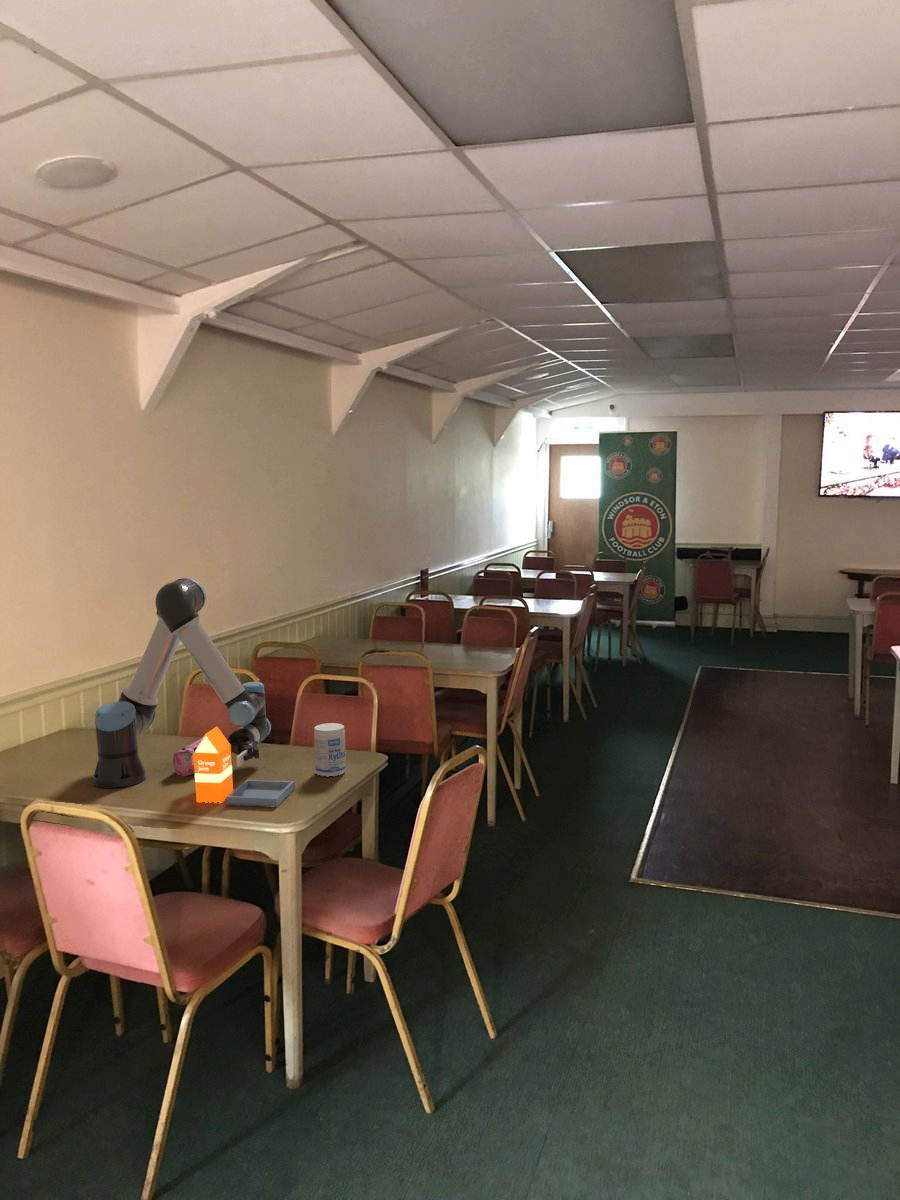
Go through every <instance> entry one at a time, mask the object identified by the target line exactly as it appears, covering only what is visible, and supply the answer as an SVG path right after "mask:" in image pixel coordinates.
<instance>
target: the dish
mask: <svg viewBox="0 0 900 1200" xmlns="http://www.w3.org/2000/svg"><path fill="white" fill-rule="evenodd" d="M294 789H295V790H296V781H295V780H294V781H293V780H272V779H271V780H268V779H267V780H266V779H246V780H244V781H242V783H241V784H239V786H237V787H236V788H235V789H233V791H232V792H231V793H230V794H229V795H228V796H226V800H225V804H226V805H225V806H227V805H236V806H235V807H251V806H270V807H269V808H272V807H271V806H274V807H273V808H275V807H277V806H278V805H279V804H280V803H281V802H282V801H283V800H284V799H285V798H286V797H287V796H288V795H289V794H290V793H291V792H292V791H293V790H294ZM295 790H294V791H295ZM294 791H293V792H294ZM293 792H292V793H293ZM292 793H291V794H292ZM291 794H290V795H291ZM290 795H289V796H290ZM289 796H288V797H289ZM288 797H287V798H288ZM287 798H286V799H287ZM286 799H285V800H286ZM285 800H284V801H285ZM284 801H283V802H284ZM283 802H282V803H283ZM282 803H281V804H282ZM281 804H280V805H281ZM280 805H279V806H280ZM279 806H278V807H279ZM278 807H277V808H278Z"/></svg>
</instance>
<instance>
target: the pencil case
mask: <svg viewBox="0 0 900 1200" xmlns="http://www.w3.org/2000/svg"><path fill="white" fill-rule="evenodd" d="M204 736H205V734H204V735H203V736H201V737H200V738H199V739H198V740H195V741H193V742H192V743H190V744H189V745H185V746H184V747H181V748H180V749H179V750H176V752H175V753H174V754H173V756H172V765H173V768H174V771H175V772H174V773H176V774H177V775H178V776H180V775H181V776H180V777H189V776H191V775H193V774H195V769H194V765H192V755H193V754H194V748H195V747H198V746H199V744H200V742H201V741H202V739H203V738H204ZM183 775H184V776H183ZM188 775H189V776H188Z"/></svg>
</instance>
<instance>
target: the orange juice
mask: <svg viewBox="0 0 900 1200" xmlns="http://www.w3.org/2000/svg"><path fill="white" fill-rule="evenodd" d="M204 735H205V736H204ZM204 735H203V736H204V738H203V739H202V741H201V742H200V744H199V746H198V747H197V749H196V751H195V752H194V769H195V773H194V783H195V795H196V796H195V797H196V798H195V799H196V803H202V802H205V804H206V803H207V804H212V802H214V803H213V804H222V803H224V802H225V801H226V800H225V799H226V796H228V795H229V794H230V793H231V792H232V791H234V786H233V783H234V782H233V765H232V764H233V763H232V753H231V745H230V743H229V742H228V741H227V740H228V738H226V737H225V735H224V734H223V732H222V731H221V729H220V728H219V727H218V726H215V727H213V728H212V729H211V730H210V731H209V730H208V732H206V733H205V734H204ZM208 802H209V803H208ZM217 802H219V803H217Z"/></svg>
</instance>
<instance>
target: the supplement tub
mask: <svg viewBox="0 0 900 1200" xmlns="http://www.w3.org/2000/svg"><path fill="white" fill-rule="evenodd" d="M313 731H314V732H313V743H314V744H313V745H314V746H313V747H314V748H313V749H314V772H315V774H316V775H317V776H319V775H320V776H321V777H324V776H326V777H327V778H330V777H329V776H333V777H338V775H339V776H341V775H343V774H344V773H345V772H346V770H347V764H346V763H347V761H346V755H347V753H346V731H345V725H343V724H342V723H335V722H333V723H332V722H331V723H330V722H327V723H321V724H317V725H316V726H314V729H313Z"/></svg>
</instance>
